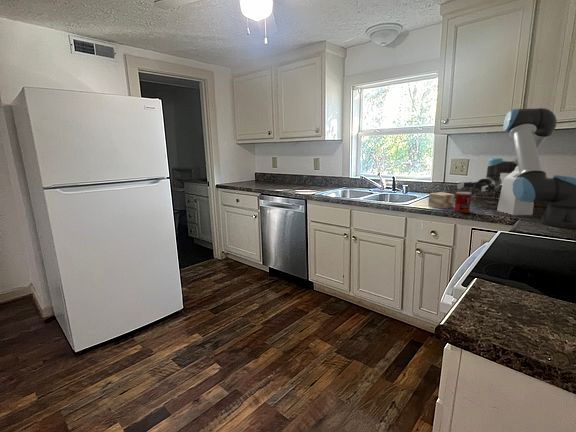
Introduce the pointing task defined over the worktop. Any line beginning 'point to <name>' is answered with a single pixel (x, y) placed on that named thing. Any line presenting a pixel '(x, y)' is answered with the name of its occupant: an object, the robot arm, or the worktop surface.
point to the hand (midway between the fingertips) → (469, 187)
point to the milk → (513, 198)
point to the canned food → (462, 202)
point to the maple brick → (441, 200)
